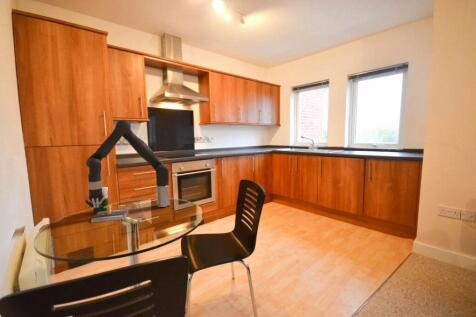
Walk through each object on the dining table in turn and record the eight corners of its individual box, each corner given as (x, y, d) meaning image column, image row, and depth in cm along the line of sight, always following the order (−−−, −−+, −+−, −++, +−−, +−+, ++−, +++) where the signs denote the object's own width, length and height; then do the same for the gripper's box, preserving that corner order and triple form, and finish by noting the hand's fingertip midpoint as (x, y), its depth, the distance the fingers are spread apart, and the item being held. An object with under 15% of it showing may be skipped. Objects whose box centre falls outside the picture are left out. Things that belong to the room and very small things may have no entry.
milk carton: (99, 209, 162) (97, 184, 159) (111, 209, 161) (109, 184, 159) (91, 214, 153) (88, 187, 150) (103, 214, 153) (101, 187, 150)
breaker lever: (113, 213, 149) (112, 204, 149) (112, 215, 147) (111, 205, 146) (106, 214, 148) (105, 205, 147) (105, 215, 145) (104, 206, 144)
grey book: (127, 210, 156) (127, 208, 156) (123, 217, 144) (123, 214, 144) (97, 213, 151) (97, 211, 151) (91, 220, 139) (91, 218, 138)
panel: (128, 212, 157) (128, 210, 157) (125, 219, 145) (125, 216, 144) (97, 215, 151) (97, 213, 151) (91, 222, 139) (90, 220, 138)
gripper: (108, 185, 148) (109, 209, 150) (86, 187, 144) (88, 211, 147) (105, 188, 141) (106, 213, 143) (81, 189, 137) (83, 215, 139)
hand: (97, 212), depth 145 cm, fingers closed
